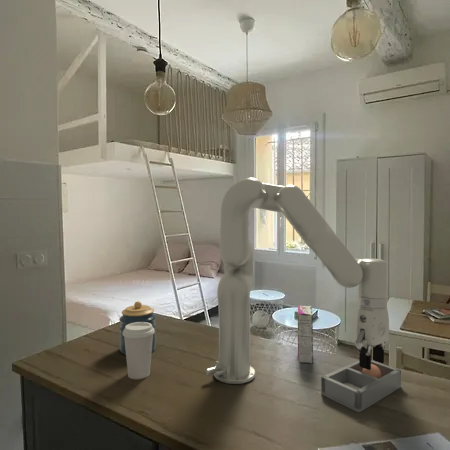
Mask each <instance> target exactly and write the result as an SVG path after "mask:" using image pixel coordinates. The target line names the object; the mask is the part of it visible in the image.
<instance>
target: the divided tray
mask: <svg viewBox="0 0 450 450" xmlns="http://www.w3.org/2000/svg"><path fill="white" fill-rule="evenodd" d="M371 364H373V365H376V366H377V367H378V368H379V369H380V371H381V378H379V379H378V378H375V377H372V376H370V375H367V374H365V373H362V370H363V368H362V367H360V366H359V359H358V360H356V361H354V362H352V363H349V364H348V365H345V366H343V367H340V368H338V369H336V370H334V371H331V372H330V373H328V374H325V375H321V379H320V380H321V387H320V388H321V389H320V390H321V391H320V392H321V395H322V396H324V397H326V398H327V399H330V400H333V401H334V402H336V403H338V404H340V405H342V406H344V407H346V408H348V409H350V410H353V411H355V413H362V412H363V411H364V410H366V409H368V408H369V407H371V406H373V405H374V404H376V403H378V402H380V401H381V400H382V399H384V398H386V397H387V396H389V395H391V394H392V393H394V392H395V391H398V390H399V389H400V388H402V370H401V369H398V368H395V367H392V366H390V365H387V364H385V363H379V362H376V361H374V360H373V359H371Z"/></svg>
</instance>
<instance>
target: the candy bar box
mask: <svg viewBox="0 0 450 450" xmlns="http://www.w3.org/2000/svg"><path fill="white" fill-rule="evenodd" d="M313 317H314V314H313V309H312V306H311V305H297V360H298V363H303V364H313V362H314V347H313V346H314V331H313V330H314V329H313V327H314V324H313V320H314V319H313Z"/></svg>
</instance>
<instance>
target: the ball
mask: <svg viewBox="0 0 450 450" xmlns="http://www.w3.org/2000/svg"><path fill="white" fill-rule="evenodd" d="M362 373H365V374H367V375H370V376H372V377H375V378H378V379H379V378H381V371H380V369H379V368H378V367H377V366H376V365H373V364H371V369H370V370H368V369H365V368H363V370H362Z"/></svg>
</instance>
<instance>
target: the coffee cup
mask: <svg viewBox="0 0 450 450" xmlns="http://www.w3.org/2000/svg"><path fill="white" fill-rule="evenodd" d="M154 333H155V330H154V328H153V327H152V324H151V323H148V322H135V323H131V324H128V325H126V326H125V329H124V331H123V334H122V335H123V336H124V339H125V349H126V355H125V356H126V357H125V359H126V369H127V377H128V378H129V379H132V380H141V379H143V380H144V379H145V378H148V377H149V376H150V374H151V365H152V363H151V361H152V353H153V352H152V341H153V334H154Z"/></svg>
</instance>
